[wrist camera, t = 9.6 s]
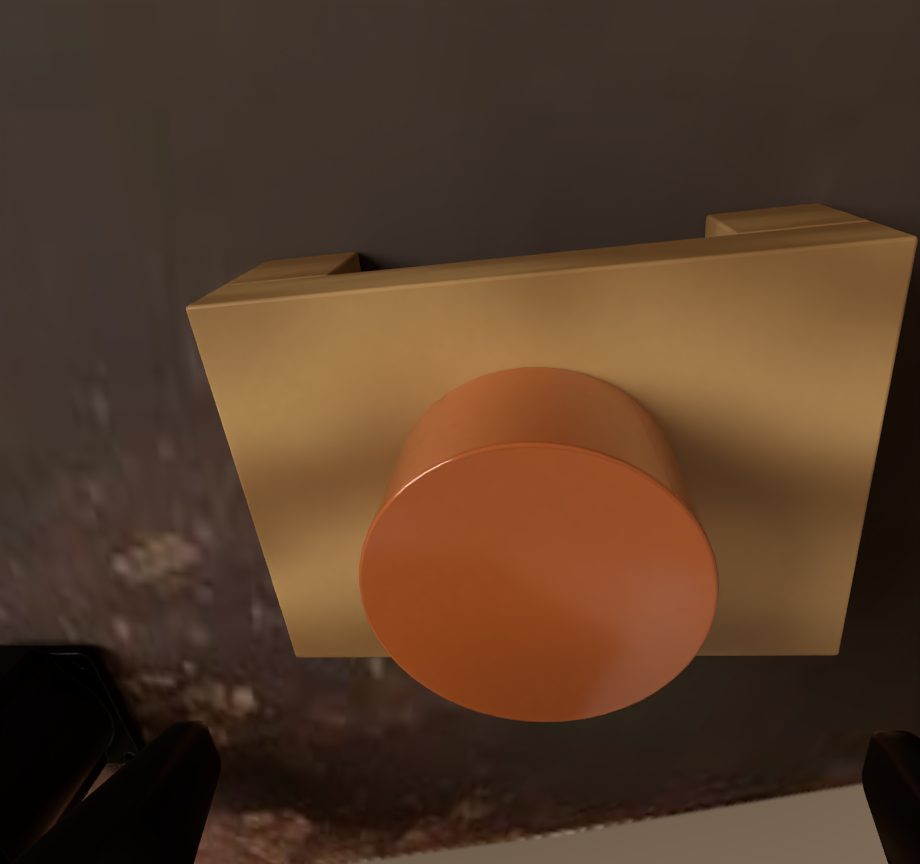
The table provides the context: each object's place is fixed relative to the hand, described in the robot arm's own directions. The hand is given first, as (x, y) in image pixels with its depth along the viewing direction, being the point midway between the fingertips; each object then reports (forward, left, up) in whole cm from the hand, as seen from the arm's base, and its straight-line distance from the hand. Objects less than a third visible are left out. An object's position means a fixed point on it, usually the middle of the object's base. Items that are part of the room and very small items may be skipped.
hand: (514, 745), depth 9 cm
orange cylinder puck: (0, 0, -6) cm, 6 cm away
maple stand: (0, 0, -11) cm, 11 cm away
